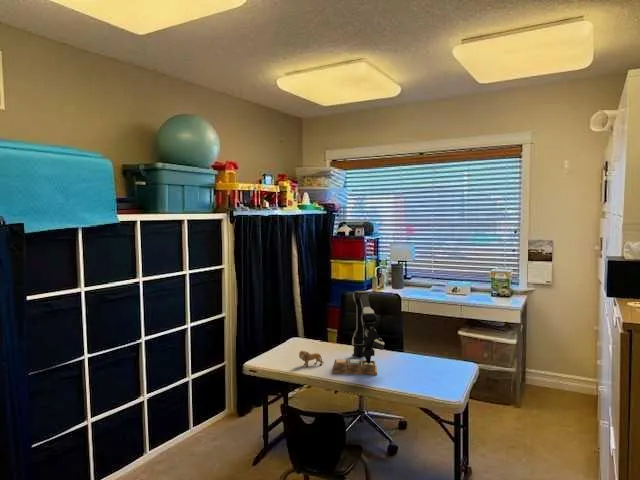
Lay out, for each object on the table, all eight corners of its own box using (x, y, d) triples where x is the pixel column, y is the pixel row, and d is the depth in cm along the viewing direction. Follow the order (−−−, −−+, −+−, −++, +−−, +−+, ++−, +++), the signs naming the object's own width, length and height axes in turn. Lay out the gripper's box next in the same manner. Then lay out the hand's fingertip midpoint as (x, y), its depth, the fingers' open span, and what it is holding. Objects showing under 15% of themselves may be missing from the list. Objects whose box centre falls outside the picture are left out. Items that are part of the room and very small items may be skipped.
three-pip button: (336, 365, 240) (336, 361, 240) (336, 362, 245) (336, 358, 245) (345, 365, 240) (345, 361, 240) (345, 362, 245) (345, 358, 244)
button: (350, 366, 239) (350, 362, 239) (350, 362, 244) (350, 359, 244) (359, 366, 239) (359, 362, 239) (359, 363, 244) (359, 359, 244)
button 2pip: (363, 369, 239) (363, 365, 239) (364, 366, 244) (364, 362, 244) (373, 369, 238) (373, 365, 238) (373, 366, 243) (373, 362, 243)
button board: (332, 373, 238) (332, 364, 238) (333, 367, 248) (333, 358, 248) (377, 374, 236) (377, 366, 235) (376, 368, 246) (376, 359, 245)
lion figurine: (300, 368, 247) (300, 352, 246) (297, 365, 252) (297, 349, 251) (325, 365, 251) (325, 349, 251) (322, 362, 256) (322, 346, 256)
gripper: (384, 340, 230) (384, 370, 231) (383, 330, 248) (382, 358, 249) (362, 340, 231) (362, 369, 232) (363, 330, 249) (363, 357, 250)
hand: (368, 363), depth 241 cm, fingers closed
